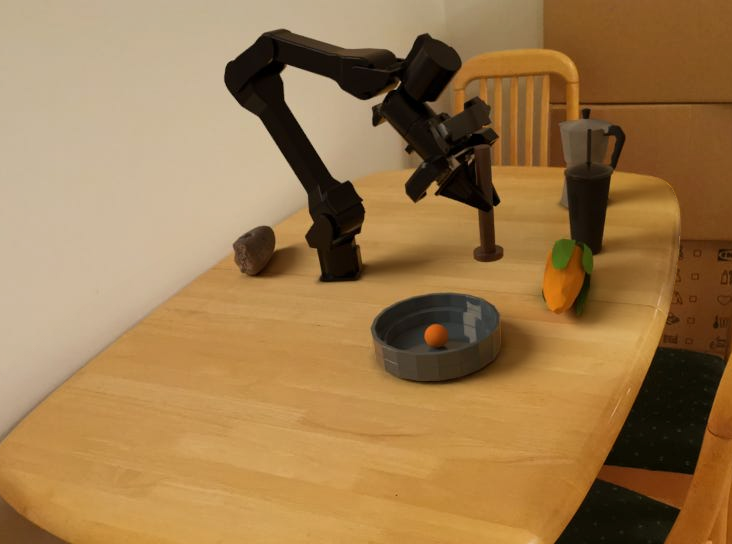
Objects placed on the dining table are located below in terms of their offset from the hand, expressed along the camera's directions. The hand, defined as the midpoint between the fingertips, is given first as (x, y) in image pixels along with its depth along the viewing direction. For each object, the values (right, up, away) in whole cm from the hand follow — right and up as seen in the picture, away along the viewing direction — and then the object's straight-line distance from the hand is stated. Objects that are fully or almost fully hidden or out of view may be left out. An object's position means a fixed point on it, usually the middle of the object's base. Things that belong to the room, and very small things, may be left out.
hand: (494, 207), depth 97 cm
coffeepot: (+24, +9, +39) cm, 47 cm away
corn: (+12, -13, +6) cm, 18 cm away
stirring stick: (0, -6, +5) cm, 8 cm away
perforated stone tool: (-39, -4, +33) cm, 51 cm away
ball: (-8, -18, -3) cm, 20 cm away
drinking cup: (+18, -3, +20) cm, 28 cm away
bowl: (-8, -20, -2) cm, 22 cm away
